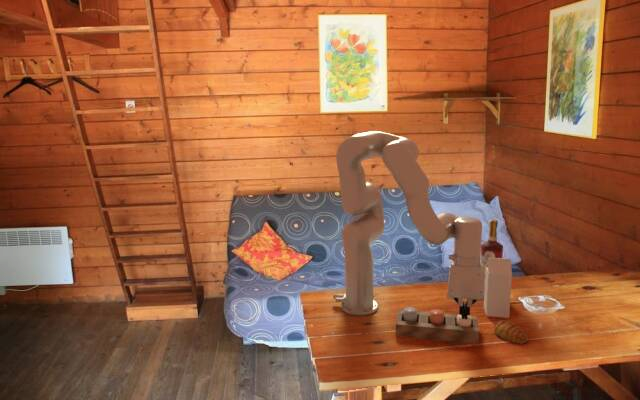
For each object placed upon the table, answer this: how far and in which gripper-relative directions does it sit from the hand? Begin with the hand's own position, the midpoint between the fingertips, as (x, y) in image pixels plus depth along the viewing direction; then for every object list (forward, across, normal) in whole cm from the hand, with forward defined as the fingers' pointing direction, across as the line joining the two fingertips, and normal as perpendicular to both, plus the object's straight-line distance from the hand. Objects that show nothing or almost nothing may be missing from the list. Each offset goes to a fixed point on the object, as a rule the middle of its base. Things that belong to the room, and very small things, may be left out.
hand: (464, 316), depth 144 cm
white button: (+4, 0, 0) cm, 4 cm away
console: (+6, -8, 0) cm, 10 cm away
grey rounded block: (+3, -16, 0) cm, 16 cm away
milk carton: (+6, +11, +17) cm, 21 cm away
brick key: (+3, -8, 0) cm, 9 cm away
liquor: (+6, +10, +30) cm, 32 cm away
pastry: (+6, +14, +2) cm, 15 cm away
